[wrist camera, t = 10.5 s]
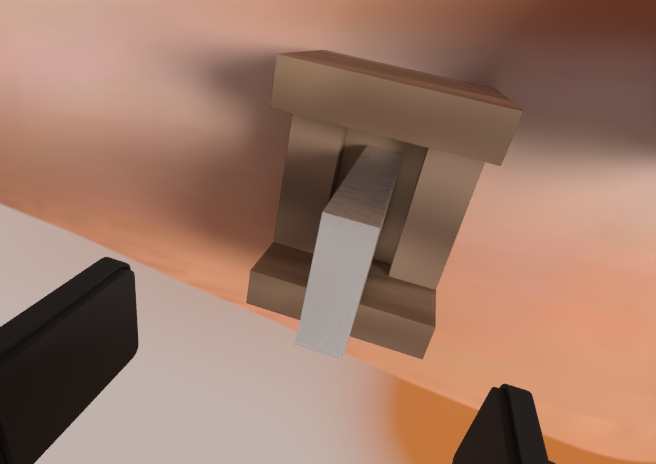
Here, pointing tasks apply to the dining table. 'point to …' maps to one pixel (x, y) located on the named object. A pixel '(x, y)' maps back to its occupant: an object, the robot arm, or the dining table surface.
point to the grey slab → (346, 251)
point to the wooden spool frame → (408, 192)
